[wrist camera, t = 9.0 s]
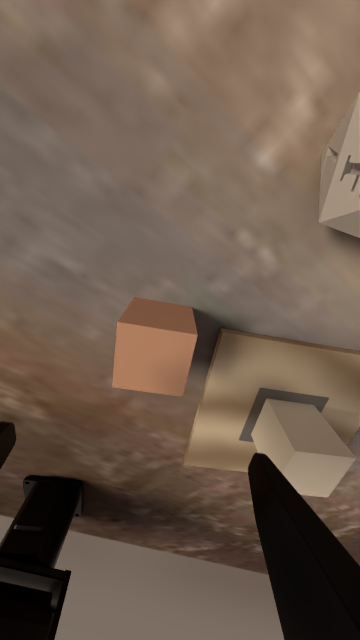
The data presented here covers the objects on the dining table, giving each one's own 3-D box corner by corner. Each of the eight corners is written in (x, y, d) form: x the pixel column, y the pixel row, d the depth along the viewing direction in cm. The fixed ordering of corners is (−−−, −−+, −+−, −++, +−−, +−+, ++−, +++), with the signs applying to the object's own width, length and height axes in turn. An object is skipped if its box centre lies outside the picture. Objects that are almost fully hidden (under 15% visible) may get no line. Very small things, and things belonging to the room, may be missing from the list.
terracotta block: (181, 356, 18) (182, 396, 14) (128, 347, 18) (112, 387, 13) (192, 307, 17) (197, 334, 12) (134, 297, 16) (117, 321, 12)
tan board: (318, 473, 25) (323, 481, 24) (183, 457, 23) (183, 465, 22) (395, 357, 19) (405, 363, 18) (220, 328, 17) (222, 332, 17)
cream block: (294, 439, 21) (327, 497, 17) (251, 434, 21) (272, 491, 16) (313, 404, 19) (356, 458, 15) (266, 398, 19) (294, 450, 14)
